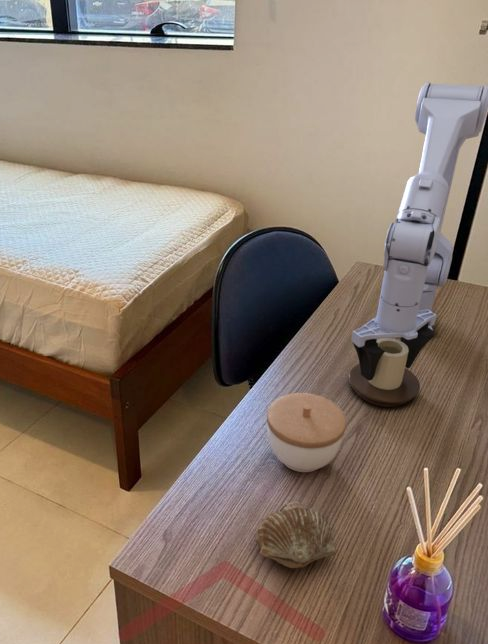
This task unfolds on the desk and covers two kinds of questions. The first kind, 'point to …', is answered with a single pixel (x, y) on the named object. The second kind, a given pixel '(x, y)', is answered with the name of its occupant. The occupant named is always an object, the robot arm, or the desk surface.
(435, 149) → the robot arm
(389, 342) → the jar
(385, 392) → the stand
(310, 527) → the seashell
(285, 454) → the trinket box
